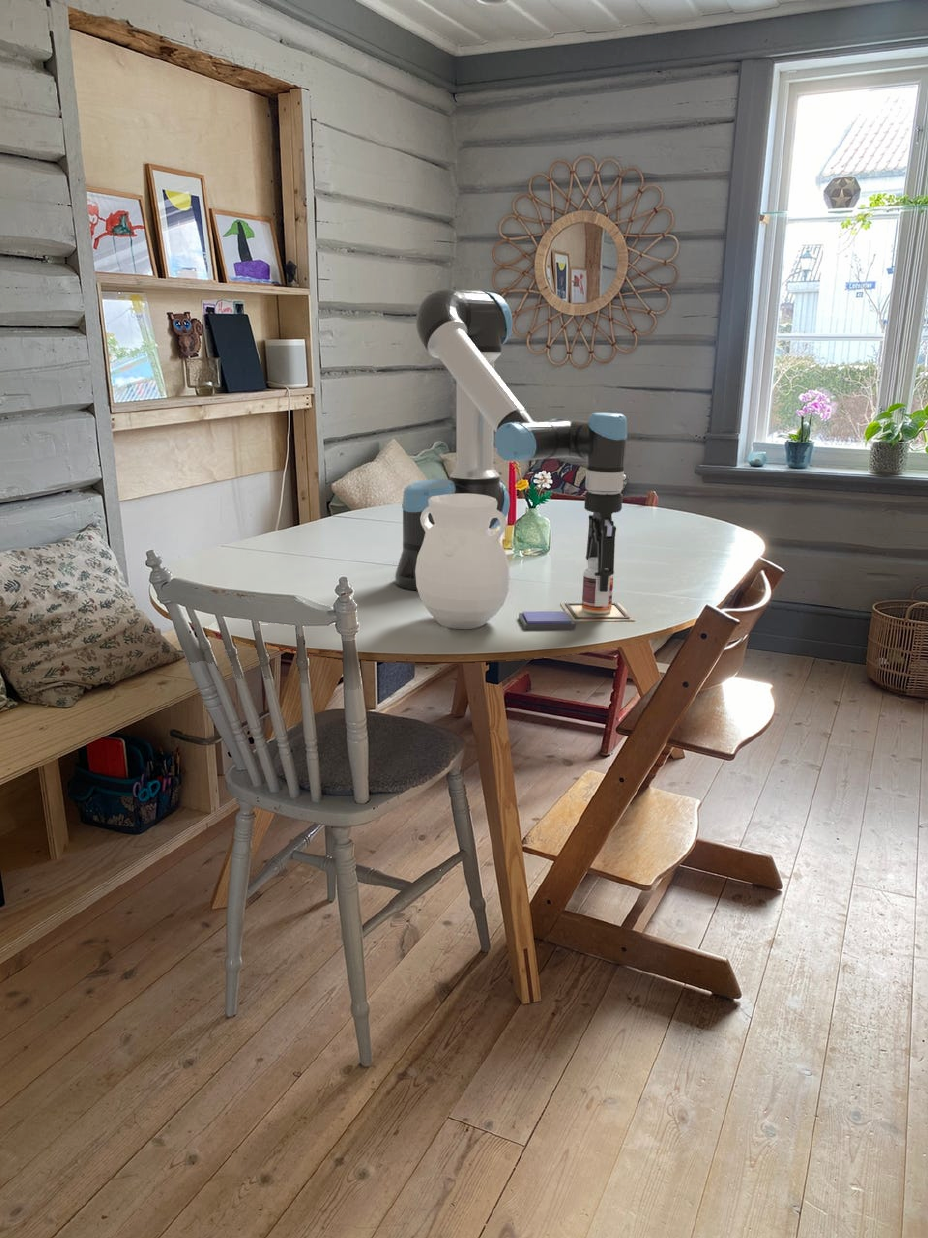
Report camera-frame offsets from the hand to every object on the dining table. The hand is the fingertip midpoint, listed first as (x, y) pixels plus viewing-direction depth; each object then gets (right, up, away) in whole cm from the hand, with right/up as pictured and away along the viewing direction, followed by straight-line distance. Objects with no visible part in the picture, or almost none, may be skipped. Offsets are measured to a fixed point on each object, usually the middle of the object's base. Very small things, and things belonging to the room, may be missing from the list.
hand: (597, 600), depth 198 cm
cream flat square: (0, -2, +1) cm, 3 cm away
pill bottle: (0, -2, +1) cm, 2 cm away
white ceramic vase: (-28, -5, -9) cm, 30 cm away
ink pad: (-11, -5, -8) cm, 15 cm away
